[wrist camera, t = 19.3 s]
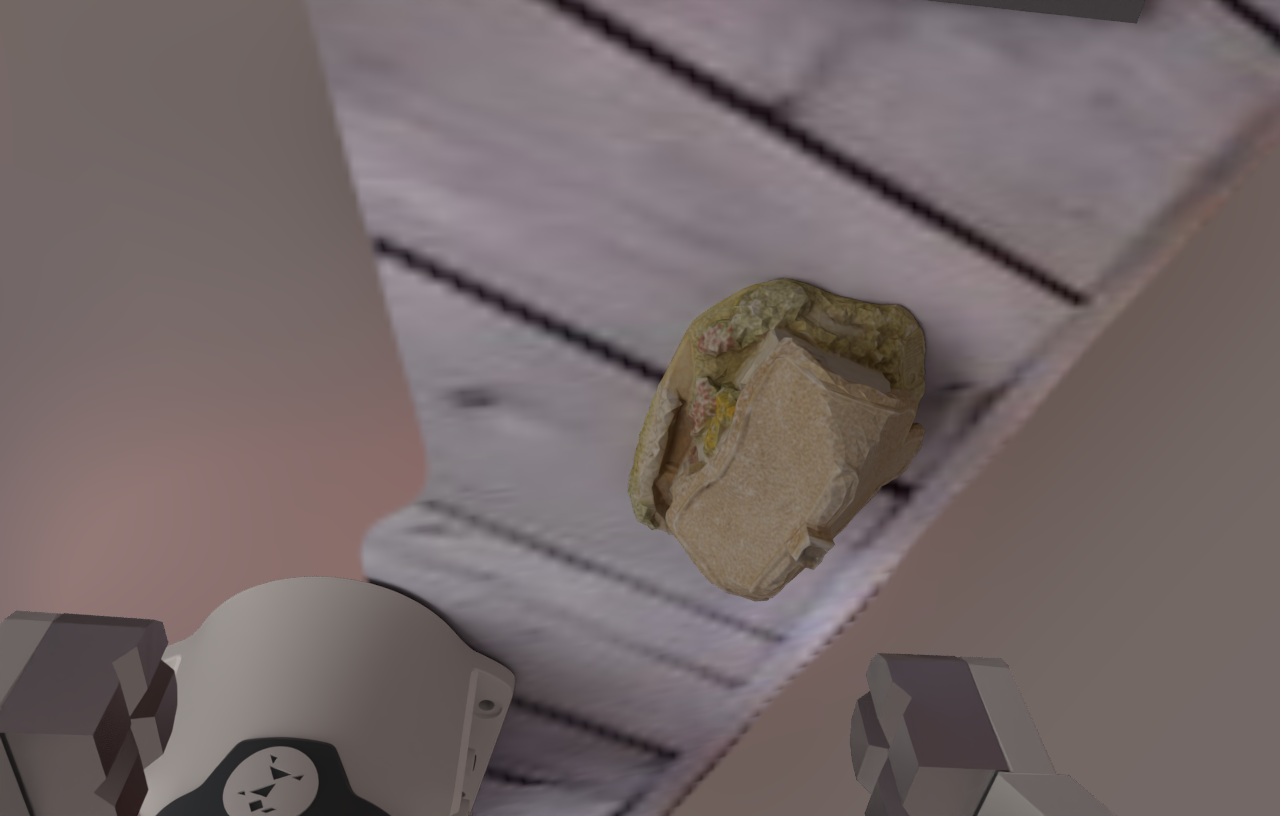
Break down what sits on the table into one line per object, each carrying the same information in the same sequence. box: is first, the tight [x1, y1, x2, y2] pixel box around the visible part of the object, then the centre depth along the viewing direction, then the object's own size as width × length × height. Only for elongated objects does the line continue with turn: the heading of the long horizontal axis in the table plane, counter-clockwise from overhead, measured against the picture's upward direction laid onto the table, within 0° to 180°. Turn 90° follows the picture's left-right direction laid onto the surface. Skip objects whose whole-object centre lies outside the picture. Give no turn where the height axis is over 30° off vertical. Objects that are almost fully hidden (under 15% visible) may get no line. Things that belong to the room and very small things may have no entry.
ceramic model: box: [628, 279, 926, 601], centre depth 41 cm, size 14×11×10 cm
